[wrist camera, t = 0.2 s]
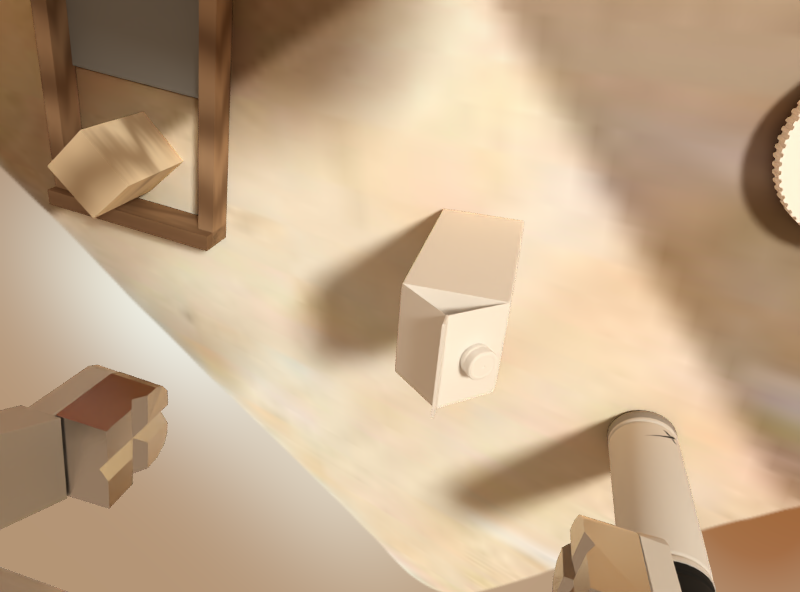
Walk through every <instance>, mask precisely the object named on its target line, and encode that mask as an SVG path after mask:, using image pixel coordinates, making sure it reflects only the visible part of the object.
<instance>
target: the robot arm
mask: <svg viewBox="0 0 800 592" xmlns="http://www.w3.org/2000/svg"><path fill="white" fill-rule="evenodd" d="M167 405H168V395H167V390H166V389H165V388H164V387H163V386H160V385H157V384H154V383H151V382H148V381H145V380H142V379H139V378H136V377H134V376H131V375H127V374H125V373H121V372H117V371H114V370H111V369H108V368H105V367H102V366H99V365H92V366H88V367H87V368H85V369H84V370H82V371H81V372H79V373H78V374H77V375H75V376H73V377H72V378H70V379H69V380H68V381H66V382H65V383H63V384H62V385H60V386H59V387H57V388H56V389H55V390H53V391H52V392H50V393H49V394H47V395H46V396H44V397H43V398H42V399H40V400H39V401H37V402H36V403H34V404H33V405H31V406H30V407H25V406H21V405H20V406H16V407H12V408H8V409H4V410H0V529H3V528H5V527H7V526H9V525H11V524H13V523H15V522H17V521H20V520H22V519H24V518H26V517H28V516H30V515H32V514H35V513H37V512H39V511H41V510H43V509H45V508H47V507H50V506H52V505H54V504H56V503H58V502H60V501H62V500H65V499H66V498H67V496H70V497H73V498H76V499H80V500H83V501H86V502H90V503H93V504H96V505H99V506H102V507H106V508H110V507H111V506H112V505H113V504H114V503H115V502H116V501H117V500H118V499H119V498H120V497H121V496H122V495H123V494H124V493H125V492H126V490H127V489H128V488H129V487H130V486H131V485H132V484H133V473H136V472H139V471H141V470H144V469H147V468H148V467H149V466H150V465H151V464H152V463H153V462H154V461H155V459H156V458H157V457H158V455H159V453H160V451H161V449H162V447H163V446H164V443H165V439H166V435H167V424H168V423H167V421H166V419H165V418H164V416H163V414H162V413H161V410H163V409H164V408H165V407H166V406H167ZM570 538H571V543H570V544H568V545H566V546H564V547H562V549H561V552H560V554H559V557H558V559H557V563H556V567H555V571H554V576H553V588H552V592H682V591H681V587H680V584H679V580H678V577H677V573H676V570H675V566H674V562H673V559H672V555H671V552H670V548H669V544H668V543H667V542H666V541H665V539H662V538H658V537H655V536H651V535H648V534H644V533H641V532H637V531H635V532H634V531H632V530H629V529H625V528H622V527H619V526H615V525H612V524H609V523H605V522H602V521H599V520H595V519H592V518H589V517H586V516H582V515H578V516H577V518H576V519H575V520H574V522H573V524H572V527H571V529H570ZM0 592H67V591H65V590H62V589H59V588H57V587H54V586H51V585H48V584H46V583H43V582H40V581H37V580H34V579H32V578H29V577H26V576H23V575H21V574H18V573H15V572H13V571H10V570H7V569H4V568H2V567H0Z"/></svg>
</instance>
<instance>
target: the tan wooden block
mask: <svg viewBox="0 0 800 592" xmlns="http://www.w3.org/2000/svg"><path fill="white" fill-rule="evenodd" d="M182 162H183V160H182V159H181V158H180V156H179V155H178V154H177V153H176V151H175V150H174V149H173V148H172V146H171V145H170V144H169V143H168V141H167V140H166V139H165V138H164V136H163V135H162V134H161V133H160V131H159V130H158V129H157V128H156V126H155V125H154V124H153V123H152V122H151V120H150V119H149V118H148V117H147V115H146V114H145V113H144V112H140V113H137V114H133V115H130V116H126V117H123V118H120V119H116V120H113V121H109V122H106V123H102V124H99V125H95V126H92V127H88V128H85V129H82V130H80V131H79V132H78V133H77V134H76V135H75V136H74V138H73V139H72V140H71V141H70V142H69V143H68V144H67V145H66V146H65V147H64V148H63V150H62V151H61V152H60V153H59V154H58V155H57V156H56V157H55V158H54V159H53V160H52V162H51V163H50V164H49V165H48V166H47V167H48V168H49V169H50V170H51V171H52V172H53V173H54V175H55V176H56V177H57V178H58V179H59V180H60V181H61V182H62V184H63V185H64V186H65V187H66V188H67V189H68V190H69V192H70V193H71V194H72V195H73V196H74V197H75V198H76V200H77V201H78V202H79V203H80V204H81V205H82V206H83V207H84V209H85V210H86V211H87V212H88V213H89V214H90V215H91V217H92V218H93V219H94V218H96V217H98V216H100V215H102V214H104V213H106V212H108V211H110V210H112V209H114V208H116V207H118V206H120V205H122V204H125V203H127V202H129V201H131V200H133V199H135V198H137V197H139V196H141V195H143V194H145V193H147V192H149V191H151V190H152V189H153V188H154V187H155V186H156V185H157V184H159V183H160V182H161V181H162V180H163V179H164V178H165V177H166V176H168V175H169V174H170V173H171V172H172V171H173V170H174V169H175V168H176V167H178V166H179V165H180V164H181V163H182Z"/></svg>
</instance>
